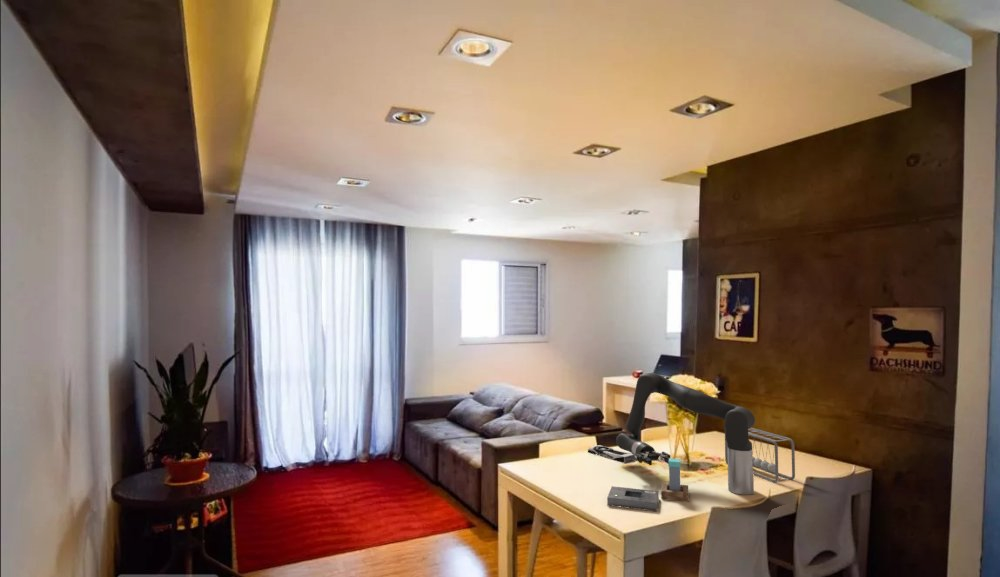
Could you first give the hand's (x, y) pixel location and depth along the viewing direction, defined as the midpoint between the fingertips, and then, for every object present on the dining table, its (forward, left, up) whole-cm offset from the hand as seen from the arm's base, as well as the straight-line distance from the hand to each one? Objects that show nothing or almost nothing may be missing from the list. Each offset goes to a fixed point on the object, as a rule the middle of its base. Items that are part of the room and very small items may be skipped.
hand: (660, 462), depth 224 cm
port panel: (+9, +22, -10) cm, 26 cm away
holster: (-6, +10, -10) cm, 15 cm away
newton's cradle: (-41, -33, -10) cm, 53 cm away
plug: (-6, +10, -10) cm, 15 cm away
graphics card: (+25, -39, -11) cm, 48 cm away
